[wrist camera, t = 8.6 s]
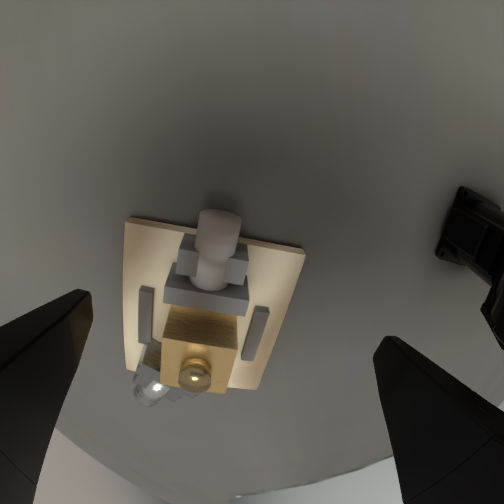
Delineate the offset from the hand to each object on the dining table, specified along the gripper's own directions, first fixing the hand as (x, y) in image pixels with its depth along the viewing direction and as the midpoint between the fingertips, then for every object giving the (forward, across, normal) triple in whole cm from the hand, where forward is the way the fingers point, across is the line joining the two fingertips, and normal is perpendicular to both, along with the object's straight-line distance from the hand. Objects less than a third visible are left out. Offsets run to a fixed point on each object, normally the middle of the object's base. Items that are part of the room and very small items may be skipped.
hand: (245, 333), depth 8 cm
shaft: (+11, +4, +15) cm, 19 cm away
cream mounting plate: (+12, +1, +9) cm, 15 cm away
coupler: (+11, +1, +9) cm, 14 cm away
